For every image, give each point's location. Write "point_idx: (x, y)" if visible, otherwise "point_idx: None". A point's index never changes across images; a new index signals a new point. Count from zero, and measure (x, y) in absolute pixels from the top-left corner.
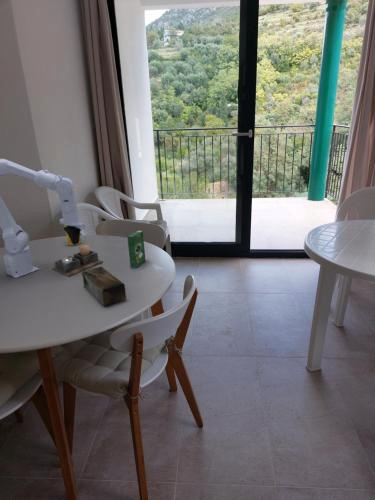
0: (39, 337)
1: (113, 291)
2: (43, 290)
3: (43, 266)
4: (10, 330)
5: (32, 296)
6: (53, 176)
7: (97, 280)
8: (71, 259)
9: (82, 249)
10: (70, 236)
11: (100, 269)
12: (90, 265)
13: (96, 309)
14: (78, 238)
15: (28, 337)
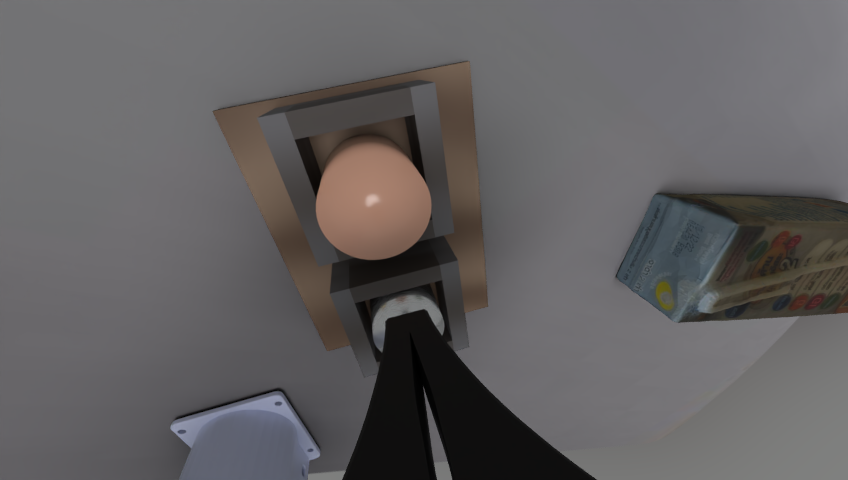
0: (693, 402)
1: None
2: (508, 385)
3: (241, 369)
4: (617, 439)
5: (517, 409)
6: None
7: (814, 304)
8: (438, 310)
9: (413, 239)
10: (434, 470)
11: (758, 248)
12: (466, 177)
13: None
14: (449, 353)
15: (672, 416)
